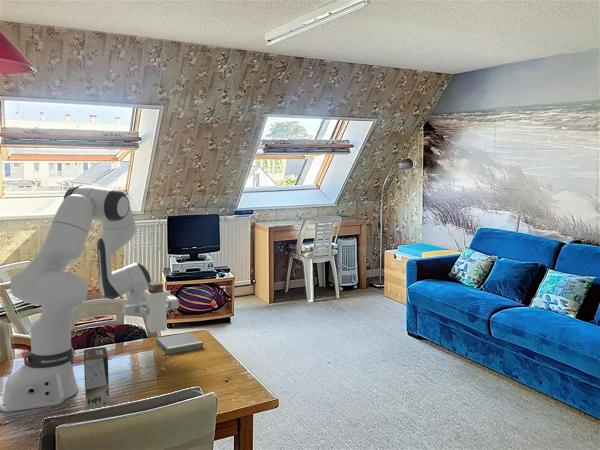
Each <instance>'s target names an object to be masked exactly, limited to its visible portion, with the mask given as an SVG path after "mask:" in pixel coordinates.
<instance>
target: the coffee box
mask: <svg viewBox="0 0 600 450" xmlns="http://www.w3.org/2000/svg"><path fill="white" fill-rule="evenodd" d="M108 355H109V354H108V352H107V348H106V346H103V347H96V348H91V349H84V350H83V367H84V368H83V370H84V371H83V372H84V395H85V409H86V411H87V410H89V409H95V408H101V407H106V406H109V407H110V386H109V385H110V384H109V380H110V378H109V356H108Z"/></svg>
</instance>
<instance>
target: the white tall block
mask: <svg viewBox="0 0 600 450" xmlns="http://www.w3.org/2000/svg"><path fill="white" fill-rule="evenodd" d="M168 292H169V291H168V290H166V289H164V288H163V292H160V293H149V290H144V296H145V297H146V309H147V308H148V309H149V314H147V315H146V330H148V331H149V332H150V333H157V332H165V331H167V312H166V298H168Z"/></svg>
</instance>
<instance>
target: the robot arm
mask: <svg viewBox="0 0 600 450" xmlns="http://www.w3.org/2000/svg"><path fill="white" fill-rule="evenodd" d="M93 220H95V221H96V220H97V221H101V224H102V225H101V226H102V234H101V235H100V238H99V239H98V240H97V243H96V253H97V254H96V255H97V267H98V269H97V270H98V289H99V292H100V294H101V295H102V297H103V298H105V299H109V300H115V299H118V298H119V297H120V296H122V295H125V298H126V299H127V300H126V301H123V303H122V304H119V305H118V307H119V309H120V310H122V314H123V315H124V316H126V317H127V316H134V315H136V316H137V315H142V314H143V315H146V316H147V314H149V309H148V308H147V309H146V297H145V296H144V290H149V283H152V279H151V275H150V273H149V270H147V268H146V267H145V266H144V265H143V264H141V263H139V262H134V263H133V262H132V263H131V264H128V265H126V266H124V267H122V268H119V269H117V270H116V269H115V270H114V271H112V257H113V256H114V254H115V253H117V252H118V251H119V250H120V249H121V248H122V247H124V246H126V245H127V244H128V243H129V242H130V241H131V240H132V239H133V237H134V236H135V234H136V222H135V218H134V213H133V211H132V209H131V206H130V200H129V197H128V196H127V194H126V193H125V192H123V191H121V190H119V189H111V188H107V187H101V186H96V185H83V184H77V185H72V186H70V187H69V188H68V189H67V190H66V191H65V194H64V196H63V200H62V202H61V203H60V205H59V207H58V208H57V211H56V213H55V215H54V216H53V219H52V222H51V225H50V227H49V230H48V232H47V235H46V238H45V240H44V242H43V244H42V245H41V247H40V249H39V251H38V252H37V253H36V255H35V256H34V257H33V259H32V260H30V262H29V263H28V264H27V265H26V266H24V267H22V268H21V269H19V270H18V271H17V272H15V274H13V276H12V278H11V280H10V282H9V283H10V284H9V287H10V288H9V289H10V291H11V295H12V296H13V297H14V298H15V299H18V300H20V301H22V302H24V303H27V304H30V305H31V304H33V305H39V306H41V314H40V317H39V319H37V320H36V321H34V322H33V323H32V325H31V326H30V344H31V345H30V347H31V348H30V349H31V350H30V351H28V350H27V349H25V350H23V351H22V352H21V357H22V358H23V362H24V364H23V365H21V366H20V368H18V369H17V370H16V371H14V372H13V373H11V374H10V376H8V378H7V380H6V382H5V384H4V385H5V386H4V390H3V391H1V392H0V411H1V412H4V413H9V412H15V411H17V412H18V411H23V410H30V409H38V408H44V407H51V406H52V407H53V406H58V405H61V404H62V403H64V402H65V400H67V399H69V398H71V397H73V396H75V395H76V394H77V393H78V391H79V386H78V383H77V380H76V376H75V371H74V367H73V366H74V348H73V346H72V337H71V336H72V331H71V330H72V321H73V318H74V314H75V311H76V310H77V308H79V307H80V306H81V305H82V304H83V303H84V302H85V301H86V299H87V298H88V297H87V296H88V291H89V287H88V283H87V281H86V280H85V278H84V277H82V276H80V275H78V274H75V273H74V272H70V271H65V269H66V268H67V267H68V266H69V265H70V264H71V263H72V262H75V261H76V260H77V259H79V258H80V257H81V256H82V253H83V250H84V247H85V244H86V241H87V239H88V236H89V232H90V229H91V226H92V221H93ZM167 292H168V298H166V313H167V312H169V311H170V310H176V309H179V307H180V306H179V305H180V301H179V298H177V297H176V296H175V295H173V294H171V293H170V292H169V291H167Z"/></svg>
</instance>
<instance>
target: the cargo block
mask: <svg viewBox="0 0 600 450" xmlns="http://www.w3.org/2000/svg"><path fill="white" fill-rule="evenodd" d="M163 289H164V283H162V282H161V281H154V282H152V281H151V283H149V293H160V292H163Z"/></svg>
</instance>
